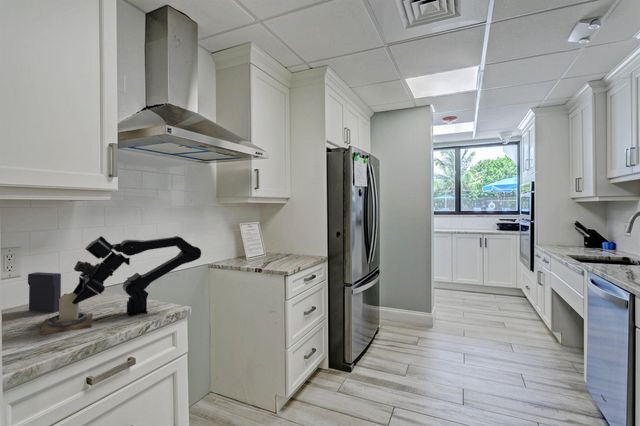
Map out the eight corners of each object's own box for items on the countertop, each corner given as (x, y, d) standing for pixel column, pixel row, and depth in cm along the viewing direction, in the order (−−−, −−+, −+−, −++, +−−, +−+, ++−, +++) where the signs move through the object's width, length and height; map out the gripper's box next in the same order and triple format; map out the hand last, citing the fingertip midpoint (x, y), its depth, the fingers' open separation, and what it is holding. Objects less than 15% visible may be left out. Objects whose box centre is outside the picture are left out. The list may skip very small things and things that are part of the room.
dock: (92, 315, 127) (92, 309, 127) (91, 327, 115) (91, 320, 115) (45, 321, 119) (45, 314, 119) (39, 334, 108) (39, 327, 108)
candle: (55, 324, 115) (55, 295, 114) (65, 318, 120) (66, 291, 120) (71, 324, 115) (72, 295, 115) (81, 318, 121) (82, 291, 120)
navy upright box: (62, 310, 132) (62, 273, 132) (52, 313, 128) (53, 275, 128) (37, 308, 134) (38, 271, 133) (27, 311, 129) (27, 273, 129)
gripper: (86, 250, 128) (50, 282, 121) (93, 256, 114) (52, 293, 107) (110, 267, 133) (76, 299, 126) (119, 276, 119) (82, 312, 112)
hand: (71, 300), depth 118 cm, fingers open, 9 cm apart
